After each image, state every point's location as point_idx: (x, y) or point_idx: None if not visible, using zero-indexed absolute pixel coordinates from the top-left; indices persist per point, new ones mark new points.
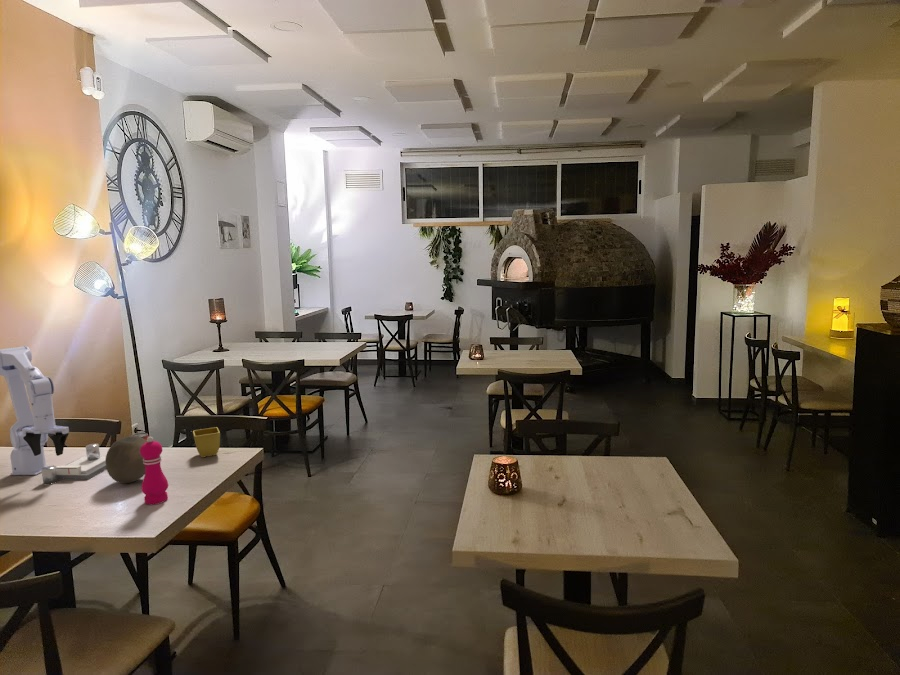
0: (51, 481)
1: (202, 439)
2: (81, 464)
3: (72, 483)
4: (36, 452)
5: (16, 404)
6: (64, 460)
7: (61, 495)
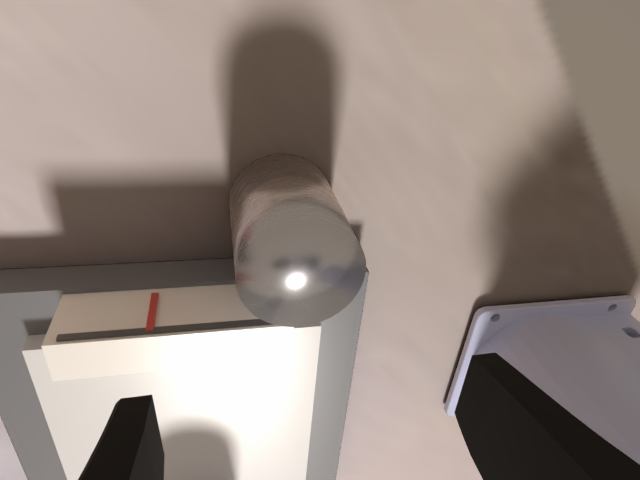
0: (242, 179)
1: None
2: (202, 434)
3: (40, 184)
4: (493, 401)
5: None
6: (431, 474)
7: None
